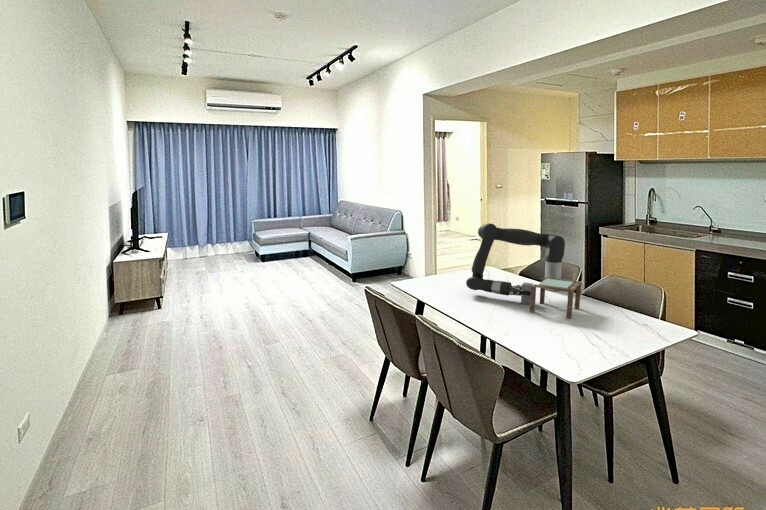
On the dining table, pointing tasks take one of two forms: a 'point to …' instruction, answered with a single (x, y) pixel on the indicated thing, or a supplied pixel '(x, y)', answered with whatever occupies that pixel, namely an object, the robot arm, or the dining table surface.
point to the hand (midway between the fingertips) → (532, 292)
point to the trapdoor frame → (570, 291)
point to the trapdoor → (557, 283)
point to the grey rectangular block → (526, 298)
